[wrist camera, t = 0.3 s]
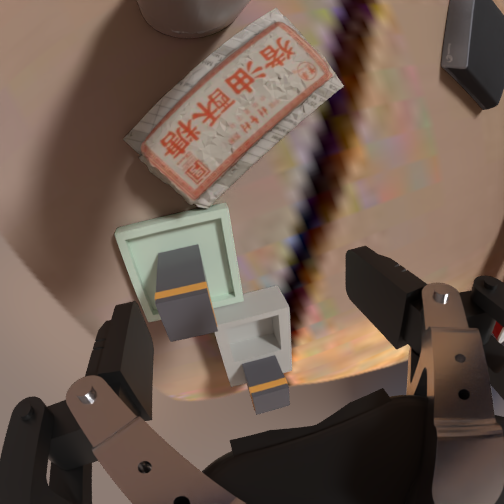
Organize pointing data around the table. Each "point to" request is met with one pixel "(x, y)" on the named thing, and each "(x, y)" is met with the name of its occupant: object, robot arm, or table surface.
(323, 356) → the table surface
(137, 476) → the robot arm
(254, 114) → the packaged product
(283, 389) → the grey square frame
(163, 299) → the plug
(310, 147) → the table surface
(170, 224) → the tray
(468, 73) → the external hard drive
